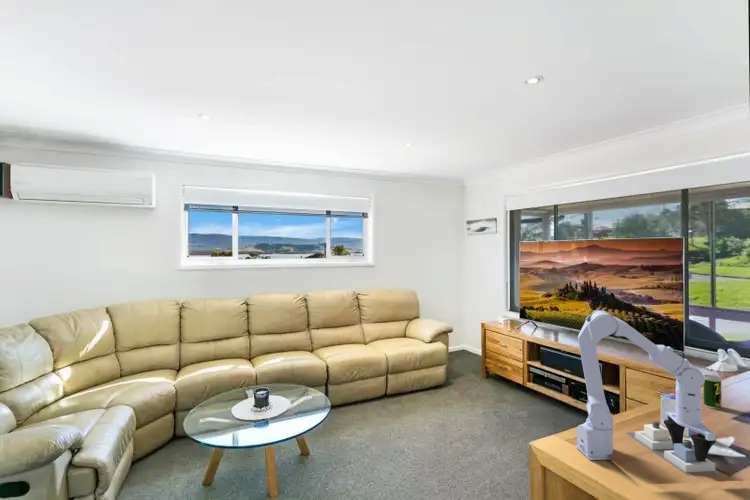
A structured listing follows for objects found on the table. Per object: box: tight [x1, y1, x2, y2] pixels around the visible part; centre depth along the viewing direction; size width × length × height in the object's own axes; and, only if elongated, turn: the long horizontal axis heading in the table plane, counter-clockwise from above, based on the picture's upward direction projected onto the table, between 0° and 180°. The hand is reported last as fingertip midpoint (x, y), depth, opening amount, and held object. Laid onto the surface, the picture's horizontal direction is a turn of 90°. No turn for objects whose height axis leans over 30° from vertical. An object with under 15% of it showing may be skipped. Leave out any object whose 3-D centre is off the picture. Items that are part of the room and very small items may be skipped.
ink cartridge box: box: [660, 392, 698, 438], centre depth 130 cm, size 10×6×14 cm, turn 15°
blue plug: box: [674, 439, 703, 463], centre depth 109 cm, size 5×4×7 cm
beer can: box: [702, 374, 723, 410], centre depth 152 cm, size 5×5×12 cm
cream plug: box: [643, 420, 670, 441], centre depth 121 cm, size 5×4×7 cm
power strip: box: [625, 430, 723, 476], centre depth 116 cm, size 10×24×4 cm, turn 3°
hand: (688, 453), depth 109 cm, fingers open, 7 cm apart
